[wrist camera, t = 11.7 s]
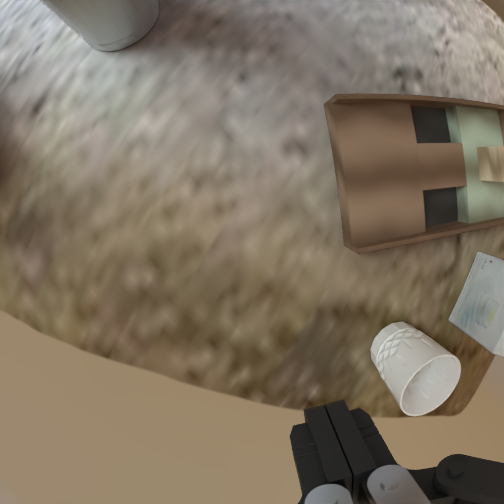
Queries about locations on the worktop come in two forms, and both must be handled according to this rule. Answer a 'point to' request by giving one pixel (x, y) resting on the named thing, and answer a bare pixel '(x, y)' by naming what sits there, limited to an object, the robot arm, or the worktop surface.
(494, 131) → the box
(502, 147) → the maple block
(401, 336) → the white cup
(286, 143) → the worktop surface
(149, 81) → the worktop surface
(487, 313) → the skincare box
